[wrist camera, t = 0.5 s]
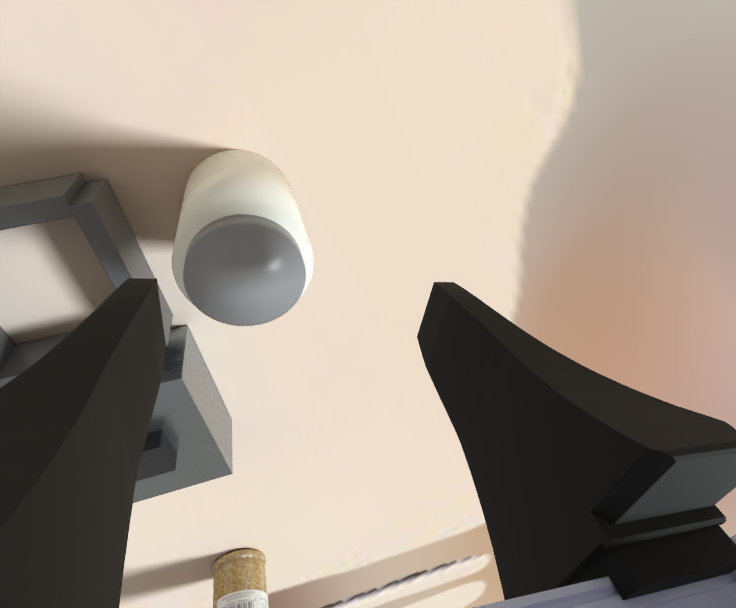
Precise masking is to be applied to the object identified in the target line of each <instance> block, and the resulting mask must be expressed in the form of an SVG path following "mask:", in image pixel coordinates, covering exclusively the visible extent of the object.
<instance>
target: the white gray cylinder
mask: <svg viewBox="0 0 736 608" xmlns="http://www.w3.org/2000/svg"><path fill="white" fill-rule="evenodd" d="M172 270H173V275H174V278H175V280H176V283H177V285H178V287H179V289H180V290H181V292H182V293H183V294H184V296H185V297H186V298H187V299H188V300H189V301H190V302H191V303H192V304H193V305H195V306H196V307H197V308H198V309H199V310H200V311H201V312H203V313H204V314H205V315H207V316H209V317H210V318H212V319H214V320H216V321H219V322H222V323H225V324H230V325H236V326H253V325H259V324H263V323H267V322H270V321H272V320H274V319H276V318H278V317H280V316H282V315H283V314H285V313H286V312H287V311H289V310H290V309H291V308H292V307H293V306H294V305H295V303H296V302H297V301H298V299H299V298H300V297H301V296H302V295H303V293H304V292H305V290H306V289H307V287H308V284H309V282H310V280H311V277H312V272H313V252H312V249H311V245H310V242H309V240H308V237H307V234H306V231H305V228H304V225H303V222H302V219H301V216H300V213H299V210H298V208H297V205H296V202H295V199H294V196H293V193H292V190H291V187H290V185H289V182H288V180H287V179H286V177H285V175H284V174H283V173H282V171H281V170H280V169H279V168H278V167H277V166H276V165H275V164H274V163H273V162H271V161H270V160H269V159H267V158H265V157H263V156H261V155H259V154H257V153H254V152H250V151H245V150H226V151H221V152H218V153H215V154H213V155H210V156H209V157H207V158H205V159H204V160H203V161H201V162H200V163H199V164H198V165H197V166H196V167H195V168H194V170H193V171H192V173H191V174H190V176H189V178H188V181H187V184H186V188H185V193H184V198H183V203H182V208H181V213H180V218H179V223H178V228H177V233H176V238H175V243H174V248H173V254H172Z"/></svg>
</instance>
